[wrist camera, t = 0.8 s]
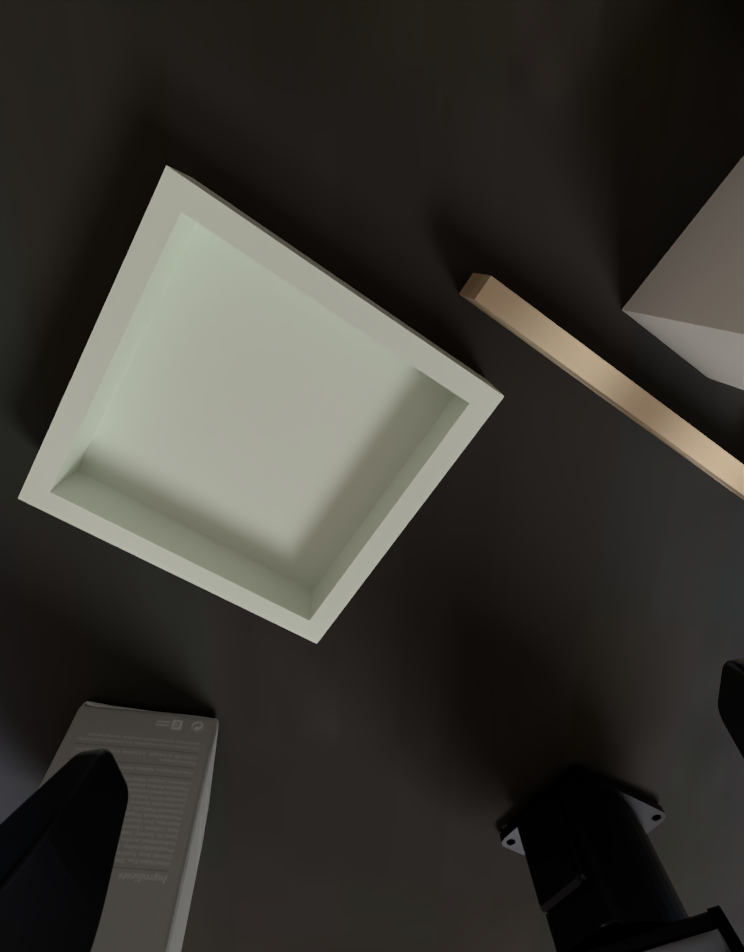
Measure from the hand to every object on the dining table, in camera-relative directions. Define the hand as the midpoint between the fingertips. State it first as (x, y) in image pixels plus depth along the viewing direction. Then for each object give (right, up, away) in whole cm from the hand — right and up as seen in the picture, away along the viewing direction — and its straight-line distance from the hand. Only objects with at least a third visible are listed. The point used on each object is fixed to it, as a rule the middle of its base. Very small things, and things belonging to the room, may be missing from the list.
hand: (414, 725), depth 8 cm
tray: (-5, +6, +12) cm, 14 cm away
